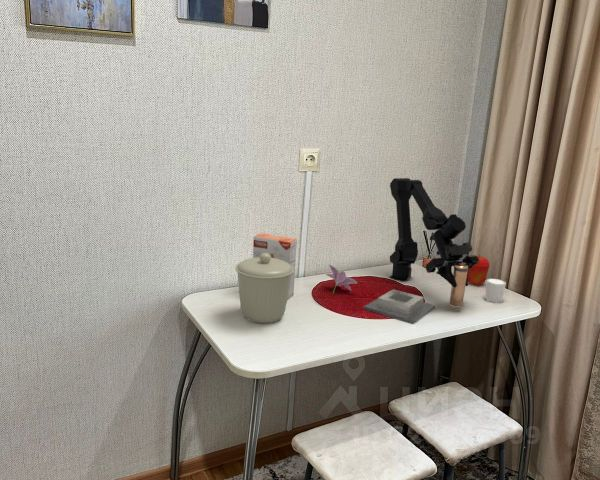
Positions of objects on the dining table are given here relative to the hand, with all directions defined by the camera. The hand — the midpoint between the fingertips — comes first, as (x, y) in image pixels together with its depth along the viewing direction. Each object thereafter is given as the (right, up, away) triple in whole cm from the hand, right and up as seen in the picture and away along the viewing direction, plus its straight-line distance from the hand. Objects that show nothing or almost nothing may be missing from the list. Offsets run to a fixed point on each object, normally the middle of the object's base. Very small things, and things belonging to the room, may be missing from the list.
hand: (461, 286), depth 193 cm
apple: (+15, -2, +32) cm, 35 cm away
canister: (-66, -9, -11) cm, 67 cm away
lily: (-40, -3, +16) cm, 43 cm away
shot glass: (+16, -6, +16) cm, 24 cm away
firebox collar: (-20, -8, +2) cm, 22 cm away
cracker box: (-64, -4, +9) cm, 64 cm away
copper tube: (-1, -6, +3) cm, 7 cm away
